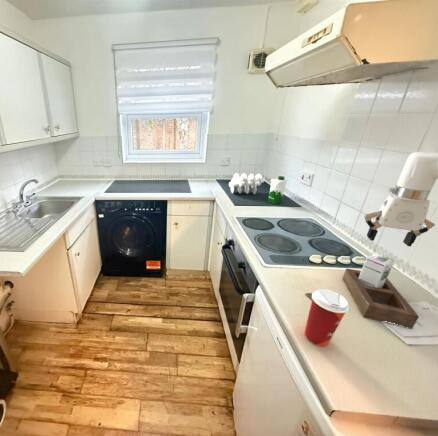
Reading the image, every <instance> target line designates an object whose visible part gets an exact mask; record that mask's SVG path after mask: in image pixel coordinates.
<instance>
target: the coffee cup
mask: <svg viewBox="0 0 438 436" xmlns="http://www.w3.org/2000/svg"><path fill="white" fill-rule="evenodd" d="M312 293H313V294H312V299H311V303H310V307H309V311H308V315H307V319H306V323H305V327H304V337H305V338H306V340H307V341H308V342H309V343H312V345H315V346H318V347H327V346H328V345H329V343H330V341H331V340H332V338H333V336H334V334H335V332H336V331H337V329H338V327H339V326H340V324H341V322H342V319H343V318H344V315H345V314H346V313H348V312H349V310H350V307H349V302H348V300H347V298H345V296H344V295H342V294H341V293H338V292H336V291H334V290H331V289H326V288H319V289H317V290H315V291H314V292H312Z"/></svg>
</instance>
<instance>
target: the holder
mask: <svg viewBox="0 0 438 436" xmlns="http://www.w3.org/2000/svg"><path fill="white" fill-rule="evenodd" d="M360 273H361V270H358V269H352V268H345V272H344V273H343V276H342V281H343V283H344V284H345V286H346V288H347V290H348V292H349V294H350V295H351V297H352V299H353V301H354V302H355V304H356V306H357V308H358V310H359V311H360V313H361V315H362V318H365V319H369V320H374V321H376V322H377V321H378V322H382V321H387V322H391V323H395V324H398V325H402V326H404V327H403V328H406V327H408V329H411V330H412V329H413V328H414V326H415V325H416V323H417V321H418V319H419V318H420V316H419V314H418V313H417V312H416V311H415V309H414V308H413V307H412V306H411V305H410V304H409V302H408V301H407V300H406V298H405V297H404V296H403V295H402V294H401V293H400V291H398V289H397V288H396V287H395V286H394V285H393V283H392V282H391V281H390V280H389V278H387V279H386V282H385V284H384V286H383V288H377V287H372V286H367V285H362V284H361V282H360V280H359V279H358V278H359V275H360ZM382 323H383V322H382ZM398 325H397V326H398ZM402 326H401V327H402Z"/></svg>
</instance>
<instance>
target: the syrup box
mask: <svg viewBox="0 0 438 436" xmlns="http://www.w3.org/2000/svg"><path fill="white" fill-rule="evenodd" d="M394 263H395V260H394V259H392V258H390V257H388V256H385V255H382V254H378V253H374V254H370V255H368V256H366V257H365V260H364V263H363V264H362V268H361V270H360V271H361V273H360V275H359V278H358V279H359V280H360V282H361V284H362V285H367V286H372V287H377V288H383V286H384V284H385V282H386V279H388V277H389V274H390V273H391V270H392V268H393V265H394Z"/></svg>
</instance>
